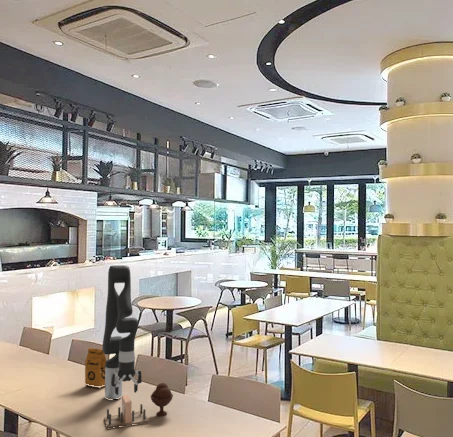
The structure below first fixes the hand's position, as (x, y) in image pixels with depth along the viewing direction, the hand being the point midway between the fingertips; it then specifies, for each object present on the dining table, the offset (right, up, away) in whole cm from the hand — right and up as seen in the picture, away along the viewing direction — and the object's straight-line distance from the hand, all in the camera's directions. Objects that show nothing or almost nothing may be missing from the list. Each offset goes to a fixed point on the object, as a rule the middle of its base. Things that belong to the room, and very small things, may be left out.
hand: (126, 393), depth 221 cm
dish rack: (0, -13, 0) cm, 13 cm away
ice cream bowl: (+16, -14, +8) cm, 23 cm away
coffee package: (-28, -15, +49) cm, 59 cm away
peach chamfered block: (0, -12, 0) cm, 12 cm away
